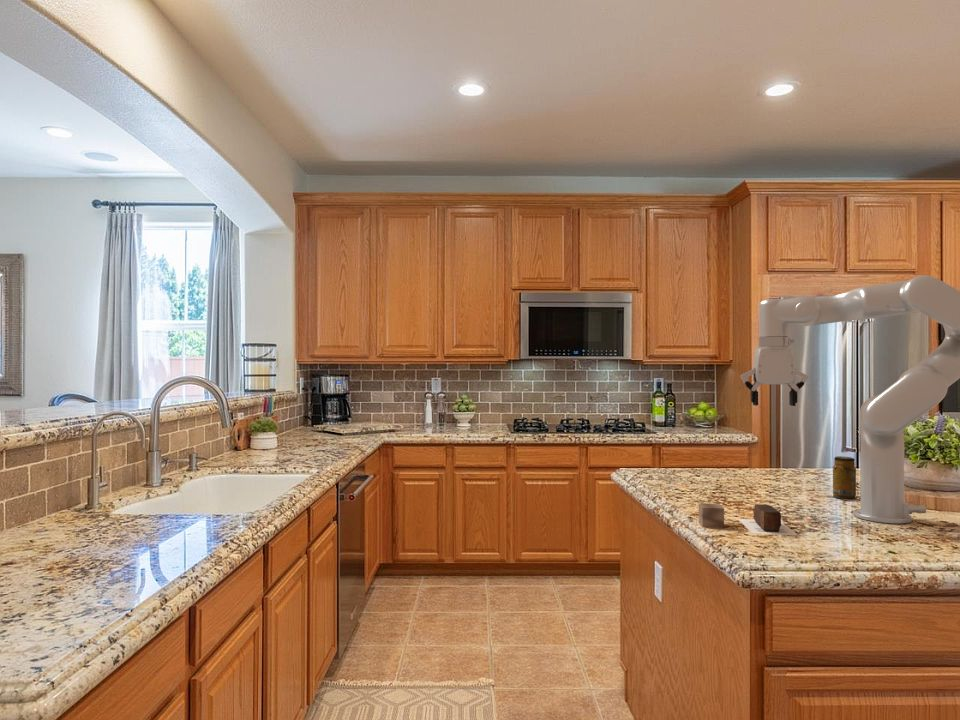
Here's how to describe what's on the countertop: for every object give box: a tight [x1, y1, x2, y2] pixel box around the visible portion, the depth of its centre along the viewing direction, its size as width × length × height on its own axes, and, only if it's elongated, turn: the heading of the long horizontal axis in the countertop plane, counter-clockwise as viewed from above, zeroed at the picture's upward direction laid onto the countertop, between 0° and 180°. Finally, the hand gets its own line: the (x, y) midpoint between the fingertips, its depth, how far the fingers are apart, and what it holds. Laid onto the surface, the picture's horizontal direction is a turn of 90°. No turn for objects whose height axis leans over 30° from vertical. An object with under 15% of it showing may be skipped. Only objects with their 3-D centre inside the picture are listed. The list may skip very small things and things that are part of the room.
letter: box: [738, 518, 798, 536], centre depth 154 cm, size 10×14×1 cm
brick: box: [752, 503, 782, 532], centre depth 154 cm, size 11×4×5 cm, turn 169°
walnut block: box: [698, 502, 725, 529], centre depth 155 cm, size 5×5×5 cm
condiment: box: [826, 455, 861, 502], centre depth 189 cm, size 7×8×12 cm
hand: (773, 405), depth 175 cm, fingers open, 9 cm apart
